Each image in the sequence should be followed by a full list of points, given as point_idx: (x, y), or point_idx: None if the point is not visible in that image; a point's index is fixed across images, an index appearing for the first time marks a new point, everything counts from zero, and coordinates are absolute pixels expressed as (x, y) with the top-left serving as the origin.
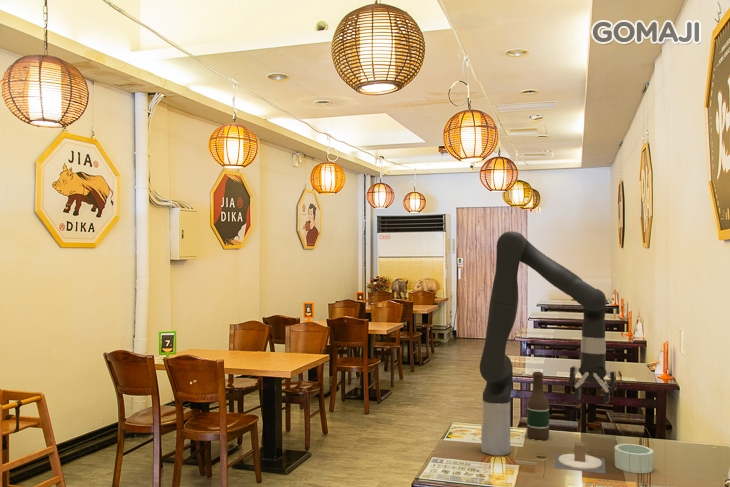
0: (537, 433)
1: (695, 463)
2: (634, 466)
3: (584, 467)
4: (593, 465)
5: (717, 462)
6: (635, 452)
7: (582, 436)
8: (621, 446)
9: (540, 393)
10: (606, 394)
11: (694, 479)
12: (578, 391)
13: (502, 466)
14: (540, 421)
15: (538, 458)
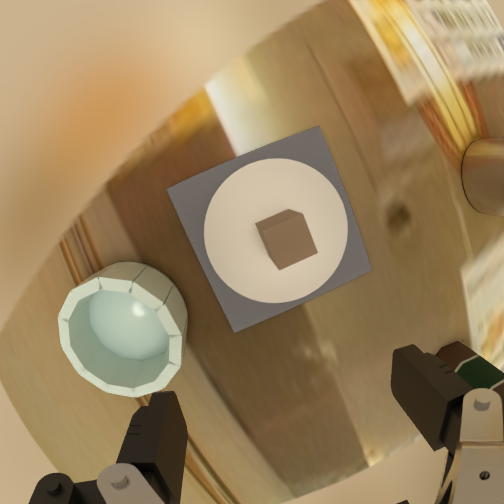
0: (455, 354)
1: (70, 437)
2: (100, 271)
3: (234, 172)
4: (216, 207)
5: (55, 459)
6: (141, 374)
7: (359, 453)
8: (169, 356)
9: None
10: (138, 451)
11: (9, 328)
12: (435, 382)
13: (423, 66)
14: (469, 376)
15: (396, 196)
